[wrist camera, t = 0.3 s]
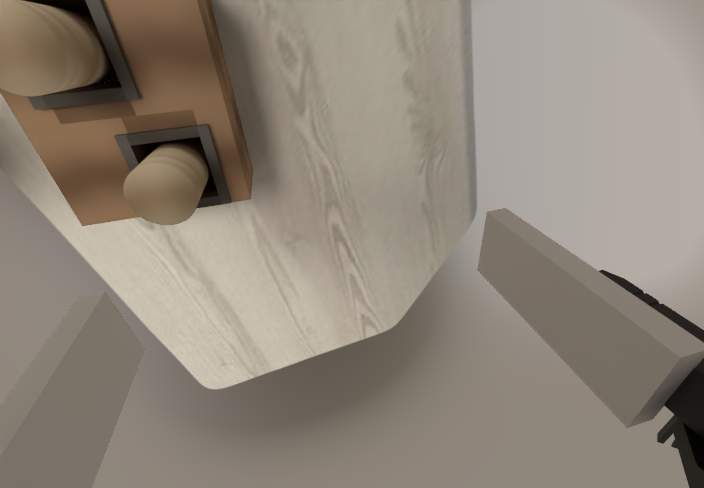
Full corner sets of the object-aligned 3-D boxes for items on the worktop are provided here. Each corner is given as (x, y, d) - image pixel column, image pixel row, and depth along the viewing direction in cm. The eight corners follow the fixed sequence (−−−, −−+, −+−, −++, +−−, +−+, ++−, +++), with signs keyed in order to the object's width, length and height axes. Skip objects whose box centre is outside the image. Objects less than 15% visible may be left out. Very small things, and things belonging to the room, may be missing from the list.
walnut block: (21, 1, 25) (-74, -17, 18) (207, -9, 27) (188, -29, 20) (118, 190, 34) (79, 228, 26) (252, 171, 36) (250, 201, 29)
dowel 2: (147, 139, 27) (110, 169, 20) (203, 132, 28) (184, 159, 21) (168, 188, 29) (140, 230, 23) (218, 181, 30) (205, 219, 23)
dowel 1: (28, 12, 21) (-77, -4, 15) (101, 7, 22) (32, -10, 16) (65, 86, 24) (-10, 100, 17) (130, 79, 25) (81, 91, 18)
